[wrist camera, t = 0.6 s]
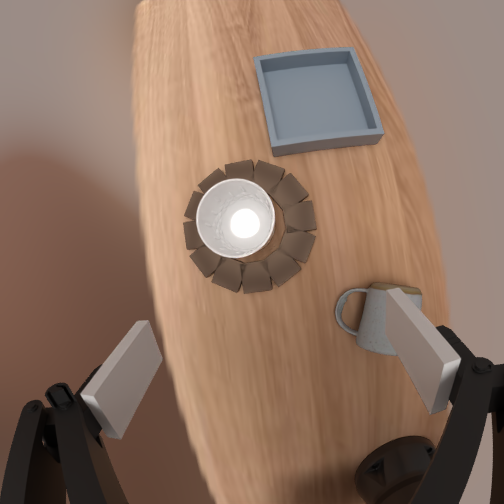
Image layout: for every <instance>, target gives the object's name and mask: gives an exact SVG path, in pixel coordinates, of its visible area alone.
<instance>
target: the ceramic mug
mask: <svg viewBox="0 0 504 504" xmlns="http://www.w3.org/2000/svg"><path fill="white" fill-rule="evenodd" d="M394 288H400V289H401V290H402V291H403V292H404V293H405V294H406V296H407V297H408V298H409V299H410V300H411V301H412V302H413V303H414V304H415V305H416V306H417V308H418V309H419V310H420V311H421V307H422V293H421V291H420V289H418V288H414V287H408V286H401V285H395V284H387V283H379V282H375V283H373V284H372V285H371V286H370V288H368V289H366V288H355V289H351V290H348V291H346V292H345V293H344V294H343V295H342V296H341V297H340V298H339V300H338V302H337V305H336V309H335V316H336V320H337V322H338V324H339V325H340V326H341V327H342V328H343V329H344V330H345V331H347V332H348V333H350V334H352V335H355V336H356V337H357V338H356V344H357V345H358V346H360V347H361V348H363V349H365V350H368V351H371V352H375V353H379V354H384V355H391V356H398V355H397V353H396V352H395V350H394V348H393V346H392V345H391V343H390V341H389V340H388V338H387V336H386V335H385V322H386V290H389V289H394ZM353 292H366V293H367V296H366V301H365V306H364V311H363V315H362V318H361V322H360V326H359V330H358V331H355V330H353V329H351V328H349V327H348V326H347V325H346V324H345V323H344V322H343V321H342V319H341V313H342V309H343V306H344V303H345V302H346V301H347V296H348V295H349V294H351V293H353Z"/></svg>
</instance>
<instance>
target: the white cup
mask: <svg viewBox="0 0 504 504" xmlns="http://www.w3.org/2000/svg"><path fill="white" fill-rule="evenodd" d="M196 224H197V229H198V233H199V235H200V237H201V239H202V241H203V242H204V244H205V245H206V246H207V247H208V248H209V249H210V250H212V251H213V252H215V253H216V254H218V255H221V256H224V257H228V258H241V257H246V256H249V255H251V254H254V253H256V252H258V251H259V250H261V249H262V248H264V247H265V246H266V245H267V244H268V243H269V241H270V240H271V238H272V236H273V234H274V231H275V224H276V221H275V211H274V207H273V204H272V201H271V199H270V197H269V196H268V194H267V193H266V192H265V191H264V190H263V189H262V188H261V187H260V186H259V185H257V184H255V183H254V182H251V181H249V180H245V179H228V180H224V181H222V182H219V183H217V184H216V185H214V186H213V187H211V188H210V189H209V190H208V191H207V192H206V193H205V195H204V196H203V197H202V199H201V201H200V203H199V206H198V209H197V214H196Z"/></svg>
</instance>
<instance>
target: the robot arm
mask: <svg viewBox="0 0 504 504" xmlns="http://www.w3.org/2000/svg"><path fill="white" fill-rule="evenodd" d="M385 335H386V336H387V338H388V340H389V341H390V343H391V345H392V346H393V348H394V350H395V352H396V353H397V355H398V357H399V359H400V360H401V362H402V364H403V366H404V367H405V369H406V371H407V373H408V374H409V376H410V378H411V380H412V382H413V384H414V385H415V387H416V389H417V391H418V393H419V395H420V397H421V398H422V400H423V402H424V404H425V406H426V408H427V410H428V412H429V414H430V415H431V414H434V413H437V412H440V411H442V410H445V409H446V407H447V404H448V401H449V400H450V402H451V403H452V405H453V407H452V410H451V412H450V415H449V417H448V420H447V423H446V426H445V429H444V431H443V434H442V436H441V439H440V441H439V444H438V446H437V448H435V446H434V445H433V443H432V442H431V441H430V440H428V439H427V438H424V437H420V436H410V437H404V438H400V439H397V440H394V441H391V442H389V443H387V444H385V445H383V446H381V447H380V448H378V449H377V450H375V451H374V452H372V453H371V454H370V455H369V456H368V457H367V458H366V459H365V460H364V461H363V462H362V463H361V465H360V466H359V468H358V469H357V472H356V475H355V484H356V488H357V491H358V493H359V495H360V496H361V497H362V499H363V500H364V501H365V502H366V503H367V504H459V501H460V499H461V497H462V494H463V492H464V489H465V487H466V484H467V482H468V479H469V476H470V474H471V471H472V467H473V465H474V462H475V458H476V455H477V452H478V449H479V445H480V442H481V438H482V434H483V431H484V426H485V422H486V418H487V413H491V414H492V429H493V471H492V488H491V498H490V504H504V364H500V365H494V364H493V363H492V362H491V361H490V360H488V359H486V358H483V357H475V356H474V355H473V354H472V352H471V351H470V350H469V349H468V348H467V347H466V346H465V345H464V343H463V342H461V340H460V339H459V338H458V337H457V336H456V335H455V333H454V332H453V331H452V330H451V329H449V328H447V327H445V326H443V325H442V326H438V327H434V326H433V324H432V323H431V322H430V321H429V320H428V319H427V318H426V316H425V315H424V314H423V313H422V312H421V311H420V310H419V309H418V308H417V306H416V305H415V304H414V303H413V302H412V301H411V300H410V299H409V298H408V297H407V296H406V294H405V293H404V292H403V291H402V290H401V289H400V288H394V289H389V290H386V322H385ZM161 361H162V356H161V353H160V351H159V348H158V346H157V343H156V340H155V337H154V334H153V332H152V329H151V326H150V323H149V321H148V320H145V321H137V322H136V323H135V324H134V326H133V327H132V328H131V329H130V331H129V332H128V333H127V334H126V336H125V337H124V338H123V339H122V341H121V342H120V343H119V344H118V346H117V347H116V348H115V350H114V351H113V352H112V353H111V355H110V356H109V357H108V358H107V360H106V361H105V362H104V364H101V365H100V366H98V367H97V368H96V369H94V371H93V372H92V373H91V374H90V376H89V377H88V378H87V379H86V382H84V383H83V384H82V386H81V387H80V388H79V390H78V391H77V392H76V394H75V395H73V393H72V391H71V390H70V388H69V386H68V385H67V384H66V383H57V384H54V385H53V386H51V387H50V388H48V390H47V391H46V393H45V396H46V398H47V400H48V401H49V403H50V404H51V406H52V407H50V408H45V406H44V405H43V403H42V402H41V401H40V400H33V401H30V402H28V403H27V404H26V405H25V406H24V408H23V410H22V412H21V416H20V419H19V422H18V425H17V428H16V431H15V435H14V438H13V442H12V445H11V450H10V453H9V458H8V461H7V466H6V470H5V475H4V480H3V486H2V491H1V496H0V504H66V489H67V493H68V497H69V501H70V504H129V503H128V501H127V499H126V497H125V495H124V492H123V490H122V488H121V486H120V484H119V481H118V479H117V476H116V474H115V472H114V469H113V466H112V464H111V461H110V459H109V456H108V453H107V451H106V448H105V445H104V442H103V439H102V438H101V436H100V435H99V433H100V431H101V430H102V429H103V431H104V432H105V434H106V435H107V436H108V437H111V438H116V439H121V438H122V436H123V434H124V432H125V430H126V428H127V426H128V424H129V423H130V421H131V419H132V417H133V415H134V413H135V411H136V409H137V407H138V405H139V403H140V401H141V399H142V397H143V396H144V394H145V392H146V390H147V388H148V386H149V384H150V382H151V380H152V378H153V377H154V374H155V373H156V371H157V369H158V367H159V365H160V363H161ZM42 440H43V442H44V446H43V442H42Z"/></svg>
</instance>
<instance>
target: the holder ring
mask: <svg viewBox="0 0 504 504" xmlns="http://www.w3.org/2000/svg"><path fill="white" fill-rule="evenodd" d="M225 170H226V176H225V175H224V174H223V172H222V171H221V170H220V169H219V168H218V169H216V170H215V171H214V172H213V173H212V174H210V175H209V176H208V177H207V178H206V179H204V180H203V181H202V182H201V183H200V184H199V185H198V186H199V187H200V189H201V190H202V191H203V192H204V194H205V193H206V192H207V191H208V190H209V189H210V188H211V187H213V186H214V185H216V184H217V183H219V182H222V181H224V180H228V179H245V180H249V181H251V182H254V183H255V184H257V185H259V186H260V187H261V188H262V189H263V190H264V191H265V192H266V193H267V194H268V195H269V196H271V197H272V198H273V199H274V200H275V202H276V203H277V204H278V205H279V206H280V208H281V209H282V210H283V213H284V219H285V226H286V231H285V233H284V236H283V238H282V241H281V244H280V246H279V248H278V249H277V250H276V251H274V252H273V253H272V254H271V255H269V256H268V257H267V258H266V259H265V260H263V261H256V262H250V263H243V262H241V261H238V260H236V259H233V258H228V257H224V256H221V255H218V254H216V253H215V252H213V251H212V250H210V249H209V248H208V247H207V246H206V245H205V244H204V242H203V241H202V239H201V237H200V235H199V233H198V229H197V224H196V221H190V222H185V223H183V225H184V233H185V240H186V248H187V250H191V249H197V248H198V249H197V250H196V251H195V252H194V253H192V254H191V255H190V258H191V259H192V260H193V262H194V263H195V264H196V266H197V267H198V268H199V269H200V271H201V272H202V273H203V275H204V276H205V277H206V278H207V277H209V276H210V275H211V274H213V273H214V272H215V273H214V276H213V279H212V283H215V284H217V285H219V286H222V287H224V288H227V289H229V290H231V291H234V292H236V293H237V292H238V291H239V289H240V286H241V284H242V285H243V291H244V294H245V293H253V292H260V291H267V290H272V282H271V278H272V279H273V281H274V282H275V283H276V284H277V286H278V287H279V286H281V285H282V284H283V283H284V282H286V281H287V280H288V279H289V278H291V277H292V276H293V275H294V274H296V273H297V272H298V271H299V270H301V268H300V267H299V266H298V264H297V263H296V262H295V260H294V259H296V260H299V261H301V262H304V263H306V261H307V258H308V256H309V253H310V250H311V248H312V245H313V243H314V240H315V237H316V236H314V235H312V234H309V233H307V232H304V231H309V230H316V229H317V228H316V222H315V216H314V210H313V205H312V201H306V202H301V201H302V200H304V199H305V198H306V197H307V196H308V195H309V194H308V193H307V191H306V190H305V189H304V188H303V187H302V186H301V184H300V183H299V182H298V181H297V180H296V179H295V177H294V176H293V175H292V174H291V173H290V174H288V175H287V176H286V177H285V178H283V179H282V177H283V175H284V172H285V169H284V168H281V167H278V166H275V165H272V164H269V163H266V162H263V161H260V160H258V162H257V165H256V167H255V170H254V167H253V162H252V160H246V161H241V162H236V163H231V164H226V165H225ZM204 194H201V193H198V192H196V191H194V192H193V194H192V197H191V199H190V202H189V204H188V207H187V209H186V212H185V215H184V216H185V217H188V218H190V219H193V220H196V214H197V209H198V206H199V203H200V201H201V199H202V197H203V196H204ZM293 258H294V259H293Z"/></svg>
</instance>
